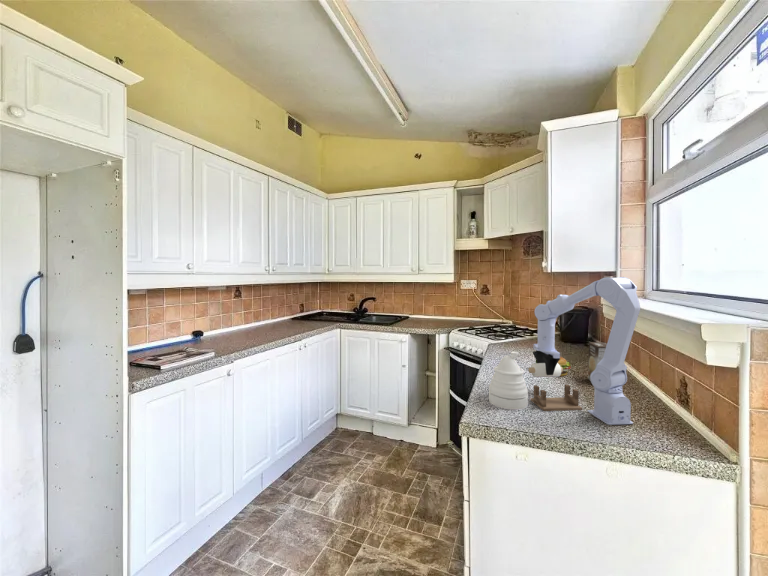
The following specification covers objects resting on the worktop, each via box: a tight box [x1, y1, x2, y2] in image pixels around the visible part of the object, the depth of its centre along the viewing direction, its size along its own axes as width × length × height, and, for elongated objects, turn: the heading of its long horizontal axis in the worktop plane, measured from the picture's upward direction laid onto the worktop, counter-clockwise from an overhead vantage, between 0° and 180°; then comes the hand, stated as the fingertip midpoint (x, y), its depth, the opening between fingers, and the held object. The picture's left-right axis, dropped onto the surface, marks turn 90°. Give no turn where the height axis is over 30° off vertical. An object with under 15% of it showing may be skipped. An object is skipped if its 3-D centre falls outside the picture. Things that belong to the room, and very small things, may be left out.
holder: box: [529, 384, 583, 412], centre depth 112 cm, size 9×13×6 cm
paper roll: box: [528, 362, 563, 378], centre depth 122 cm, size 5×12×5 cm, turn 93°
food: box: [535, 356, 572, 377], centre depth 148 cm, size 14×14×8 cm
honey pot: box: [488, 351, 529, 411], centre depth 115 cm, size 13×13×18 cm
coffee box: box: [587, 341, 607, 382], centre depth 134 cm, size 9×6×16 cm
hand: (545, 372), depth 122 cm, fingers closed on paper roll, 5 cm apart
